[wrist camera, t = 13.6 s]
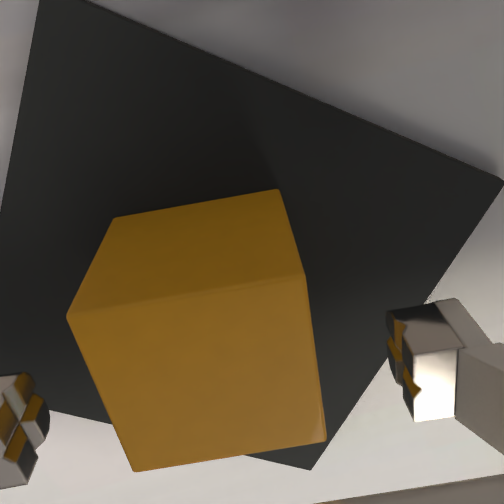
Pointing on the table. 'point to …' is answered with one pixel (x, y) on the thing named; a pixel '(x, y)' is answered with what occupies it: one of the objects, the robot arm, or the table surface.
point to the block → (201, 332)
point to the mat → (212, 196)
